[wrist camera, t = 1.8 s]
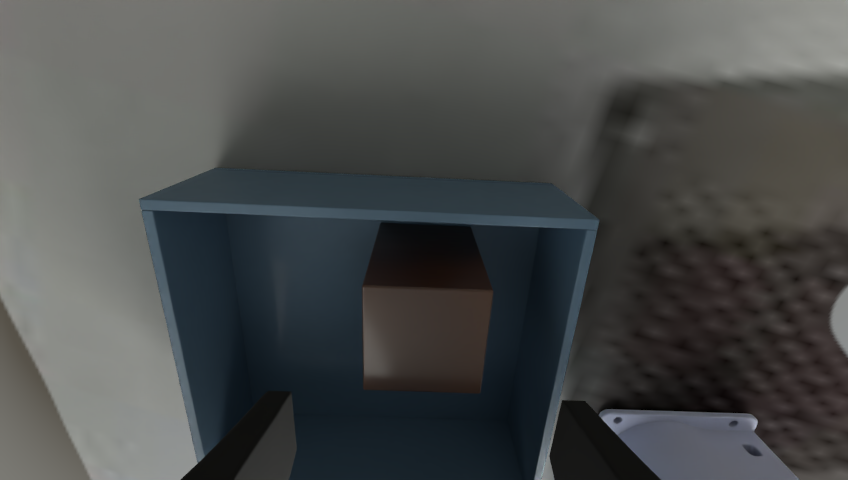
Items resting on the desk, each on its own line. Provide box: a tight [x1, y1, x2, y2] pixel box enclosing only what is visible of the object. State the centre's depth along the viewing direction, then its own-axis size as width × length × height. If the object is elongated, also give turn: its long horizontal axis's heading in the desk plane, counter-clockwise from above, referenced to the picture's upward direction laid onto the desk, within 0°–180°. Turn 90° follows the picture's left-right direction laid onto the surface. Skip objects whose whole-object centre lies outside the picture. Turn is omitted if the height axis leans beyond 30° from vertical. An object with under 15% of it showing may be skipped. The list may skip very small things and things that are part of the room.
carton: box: [139, 168, 599, 480], centre depth 19 cm, size 16×15×5 cm
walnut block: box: [362, 223, 494, 394], centre depth 17 cm, size 4×4×6 cm
